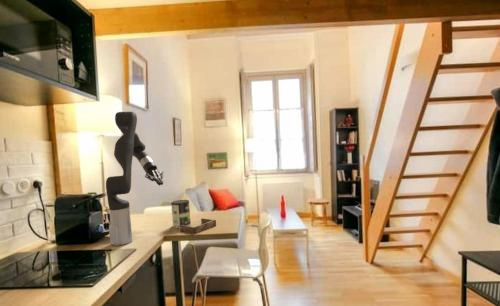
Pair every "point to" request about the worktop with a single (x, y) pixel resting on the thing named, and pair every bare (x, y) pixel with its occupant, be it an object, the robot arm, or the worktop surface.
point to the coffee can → (180, 213)
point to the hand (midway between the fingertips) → (161, 184)
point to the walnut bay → (199, 226)
